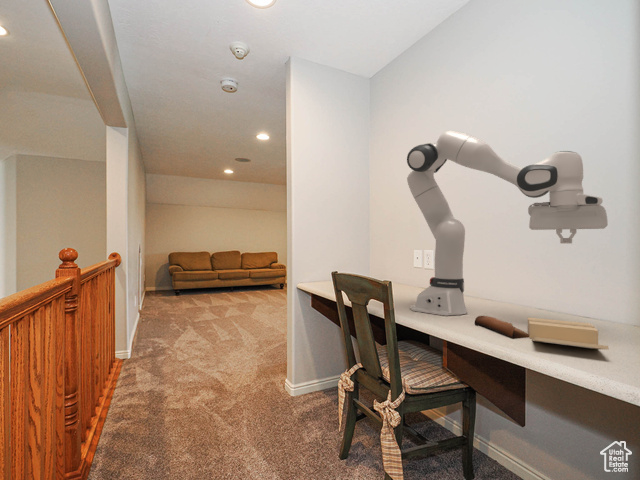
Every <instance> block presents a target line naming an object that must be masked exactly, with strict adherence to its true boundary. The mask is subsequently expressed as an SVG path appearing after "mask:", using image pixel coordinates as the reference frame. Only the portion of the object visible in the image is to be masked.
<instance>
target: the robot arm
mask: <svg viewBox="0 0 640 480" xmlns="http://www.w3.org/2000/svg"><path fill="white" fill-rule="evenodd" d="M447 161H451V162H453V163H456V164H458V165H460V166H462V167H465V168H468V169H472V170H477V171H480V172H484V173H488V174H490V175H493V176H495V177H498V178H500V179H502V180H504V181H506V182H509V183H511V184H512V185H515V186H516V187H517V189H519V191H520V192H521V193H522V194H523V195H524V196H526V197H528V198H533V199H535V198H541V197H544V196H546V195H547V194H548V193H549V194H548V195H549V201H545V202H544V201H543V202H533V203H532V204H530V205H529V206H528V209H527V211H528V215H529V224H528V227H529V229H530V230H533V231H538V230H539V231H541V230H543V231H545V230H546V231H547V230H550V231H551V230H552V231H553V230H555V234H556V235H557V236H558V238H559V242H560V243H559V244H573V238H574V237H575V236H576V234H577V230H599V229H600V230H603V229H606V227H608V216H607V211H606V208H605V207H604V206H603V205H602V203H603V198H602V197H600V196H596V195H595V196H594V195H590V194H589V195H588V194H584V187H583V183H582V182H583V179H584V166H583V165H584V164H583V159H582V156H581V155H580V154H579V153H577V152H575V151H570V150H561V151H556V152H552V153H551V155H549V156H547V157H545V158H544V159H543V160H540V161H538V162H536V163H532V164H529V165H527V166H525V167H521V166H518V165H516V164H514V163H512V162H510V161H507V160H505V159H504V158H502V157H501V156H500V155H498V154H497V152H495V150H494V149H493V148H492V147H491V146H490V144H488V143H486V142H485V141H483V140H481V139H480V138H478V137H476V136H474V135H471V134H468V133H464V132H461V131H457V130H451V129H449V130H446V131H444V132H442V133H441V134H440V136H439V137H438V139H437V141H436V142H428V143H423V144H419V145H416V146H414V147H413V148H412V149H410V150H409V152H408V153H407V157H406V163H407V165H408V167H409V168H410V169H411V170H412V171H411V172H410V173H409V174H408V175H407V177H406V178H407V179H406V180H407V181H406V182H407V185H408V188H409V190H410V193H411V195H412V197H413V199H414V201H415V203H416V205H417V206H418V208H419V210H420V211H421V214H422V216H423V217H424V219H425V221H426V223H427V226H428V228H429V230H430V231H431V234H432V236H433V238H434V239H435V250H434V251H435V252H434V276H432V277H431V278H430V279H429V286H428V287H426V288H425V289H424V290H422V291H421V292H420V293H418V294H417V296H416V300H415V303H414V304H412V305H410V311H413V312H419V313H426V314H433V315H439V316H458V315H466V314H467V313H468V310H467V308H466V303H465V298H464V291H465V279H464V277H463V276H464V275H463V274H464V273H463V272H464V271H463V268H464V266H463V265H464V264H463V261H464V259H463V258H464V251H465V241H466V239H465V238H466V229H465V226H464V224H463V222H462V221H460V220H458V219H456V218H455V217H454V215H453V212H452V211H451V208H450V205H449V202H448V201H447V199H446V197H445V195H444V193H443V192H442V190H441V188H440V186H439V185H438V183H437V181H436V179H435V176H434V174H435V173H437V172H439V171H440V169H441V168H442V167H443V166H444V164H446V162H447ZM563 230H569V233H571V234H570V235H569V237H564V236H563V235H562V233H563Z"/></svg>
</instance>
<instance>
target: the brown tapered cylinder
mask: <svg viewBox="0 0 640 480" xmlns="http://www.w3.org/2000/svg"><path fill="white" fill-rule="evenodd" d="M474 319H475V320H474V324H475V326H479V327H483V328H488V329H489V330H492V331H494V332H497V333H499V334H502V335H504V336H507V337H509V338H511V339H514V340H516V339H529V334H528V332H525V331H523V330H521V329H519V328H517V327H515V326H514V325H513V323H511V322H507V321H503V320H501V319H498V318H496V317H492V316H488V315H487V316H486V315H479V316H477V317H476V318H474Z"/></svg>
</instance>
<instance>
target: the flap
mask: <svg viewBox="0 0 640 480" xmlns="http://www.w3.org/2000/svg"><path fill="white" fill-rule="evenodd" d="M531 341H532V342H538V343H547V344H552V345H554V344H555V345H561V346H570V347H577V348H583V349H594V350H609V345H603V344H598V345H595V344H587V343H579V342H571V341H563V340H555V339H547V338H539V337H534V338H532V339H531Z"/></svg>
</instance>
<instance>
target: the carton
mask: <svg viewBox="0 0 640 480" xmlns="http://www.w3.org/2000/svg"><path fill="white" fill-rule="evenodd" d="M527 334H529V337H528V339H529V340H532V338H534V337H539V338H547V339H555V340H563V341H571V342H579V343H587V344H595V345H599V330H598V329H597V328H596V327H595V326H594V325H593V324H592V323H589V322H580V321H569V320H557V319H550V318H549V319H547V318H538V317H527Z"/></svg>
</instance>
